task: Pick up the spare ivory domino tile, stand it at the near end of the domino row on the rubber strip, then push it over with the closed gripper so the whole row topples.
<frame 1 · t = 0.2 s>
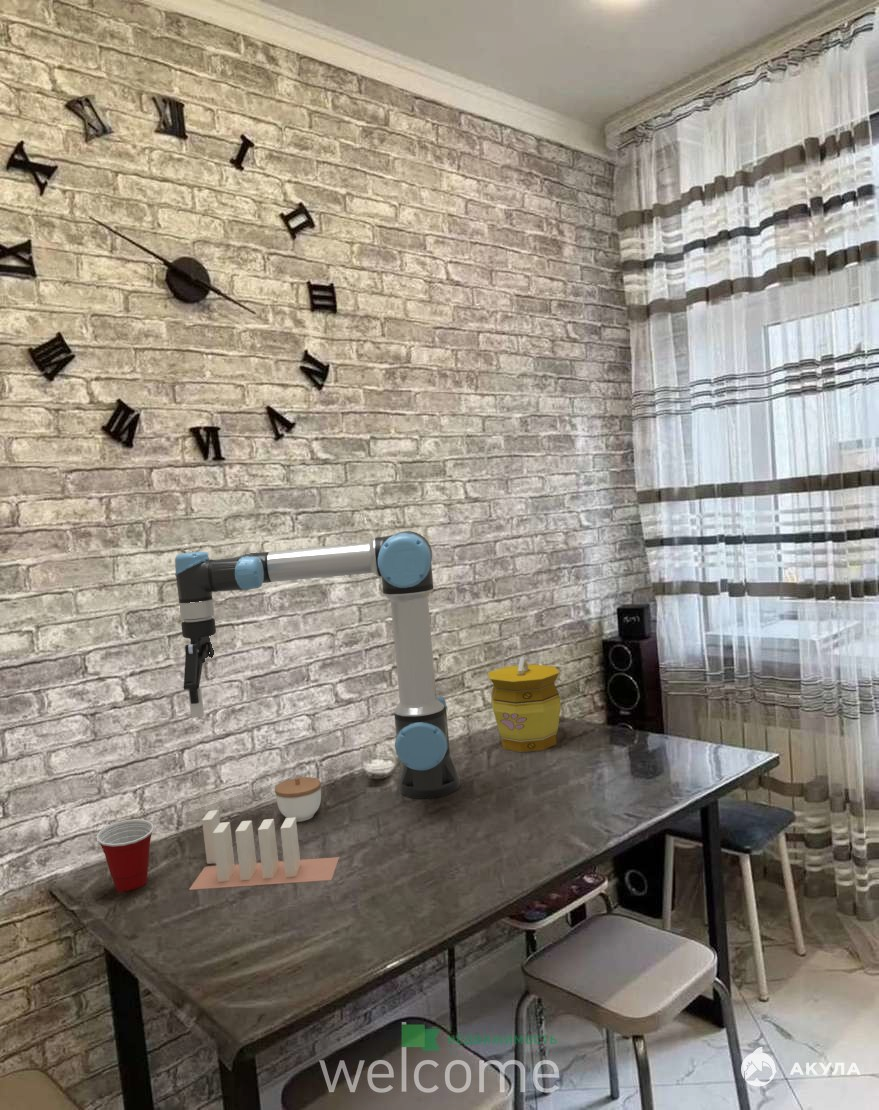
hand: (207, 709, 194), 28 cm above the table, fingers open, 13 cm apart
domino 4: (226, 875, 167), point 1 cm above the table, touching strip
domino 1: (293, 871, 166), point 1 cm above the table, touching strip
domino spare: (215, 860, 176), on the table
plastic cup: (132, 888, 166), on the table
lidded jar: (301, 817, 196), on the table
container: (528, 743, 237), on the table
strip: (266, 875, 166), on the table
domino 3: (248, 874, 166), point 1 cm above the table, touching strip
domino 2: (271, 872, 166), point 1 cm above the table, touching strip
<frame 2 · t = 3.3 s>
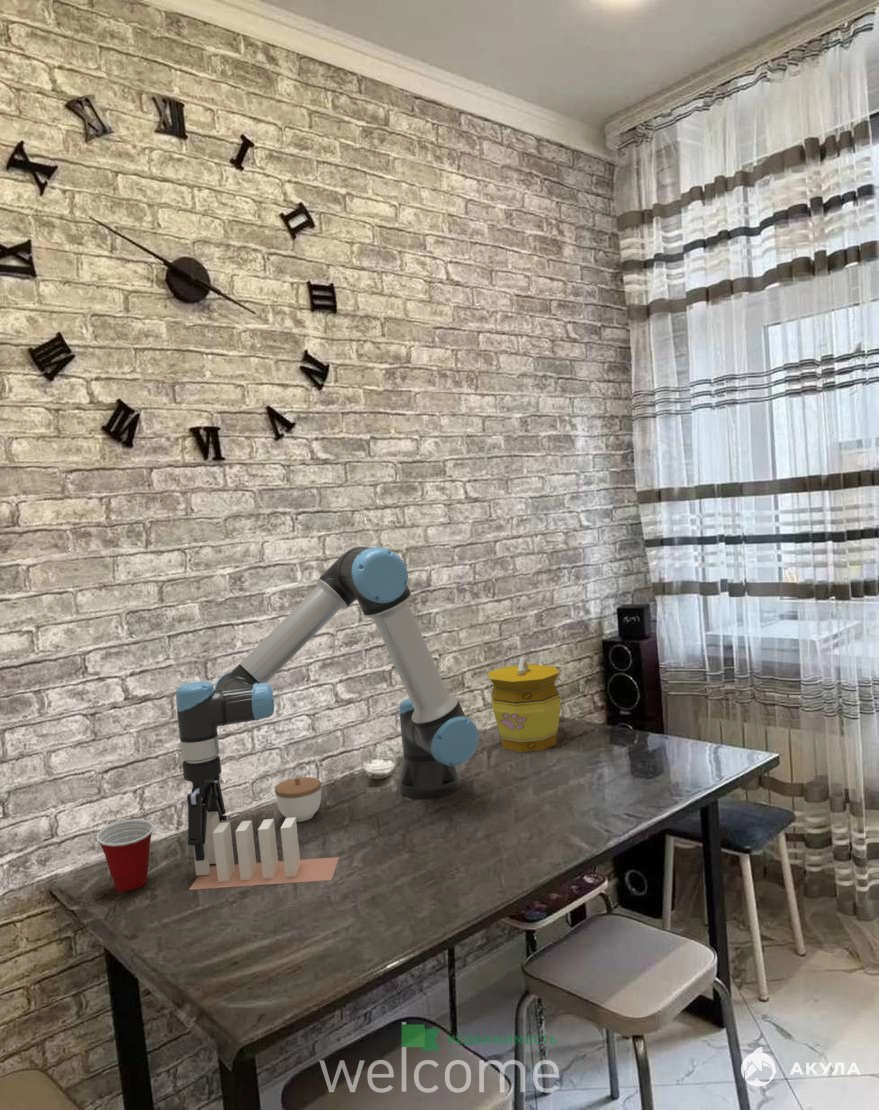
hand: (211, 863, 173), 1 cm above the table, fingers open, 10 cm apart
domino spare: (215, 861, 175), on the table, touching gripper
everything else where it was.
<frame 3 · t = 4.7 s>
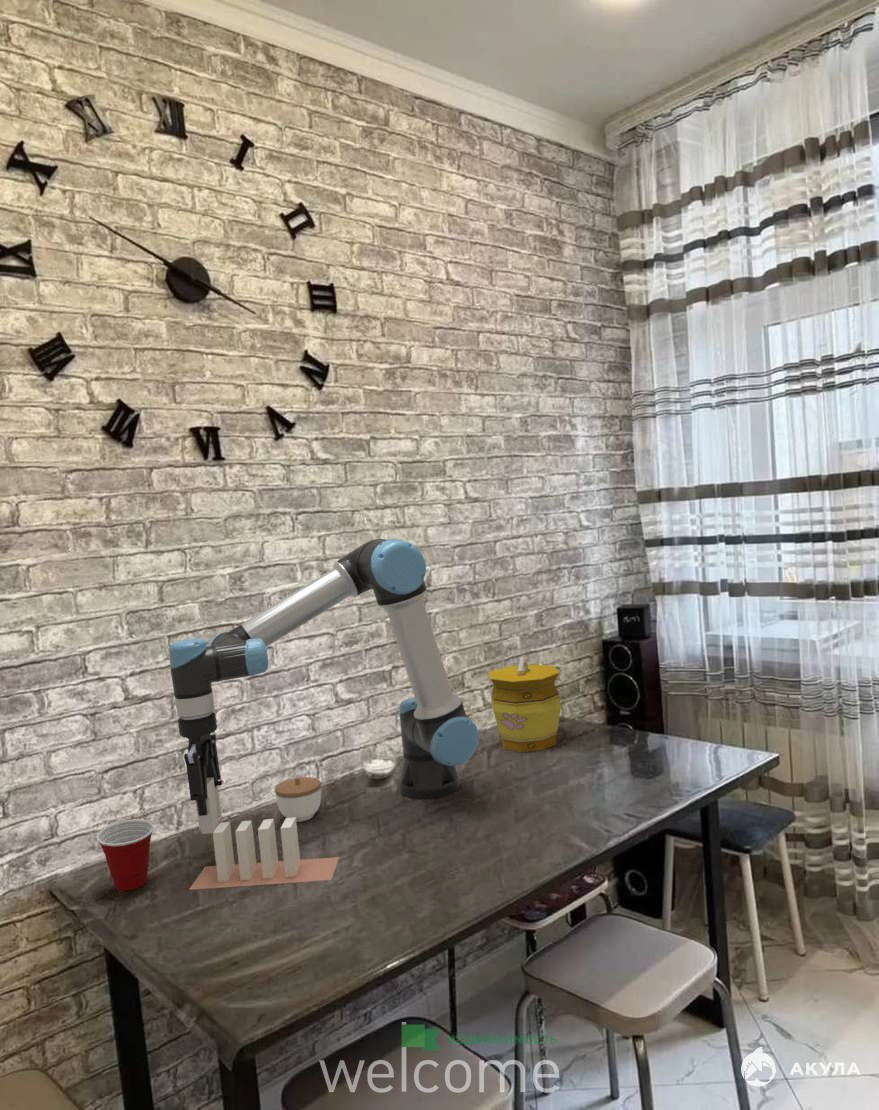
hand: (210, 822, 173), 9 cm above the table, fingers closed on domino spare, 5 cm apart
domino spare: (210, 828, 173), point 8 cm above the table, touching gripper
everything else where it was.
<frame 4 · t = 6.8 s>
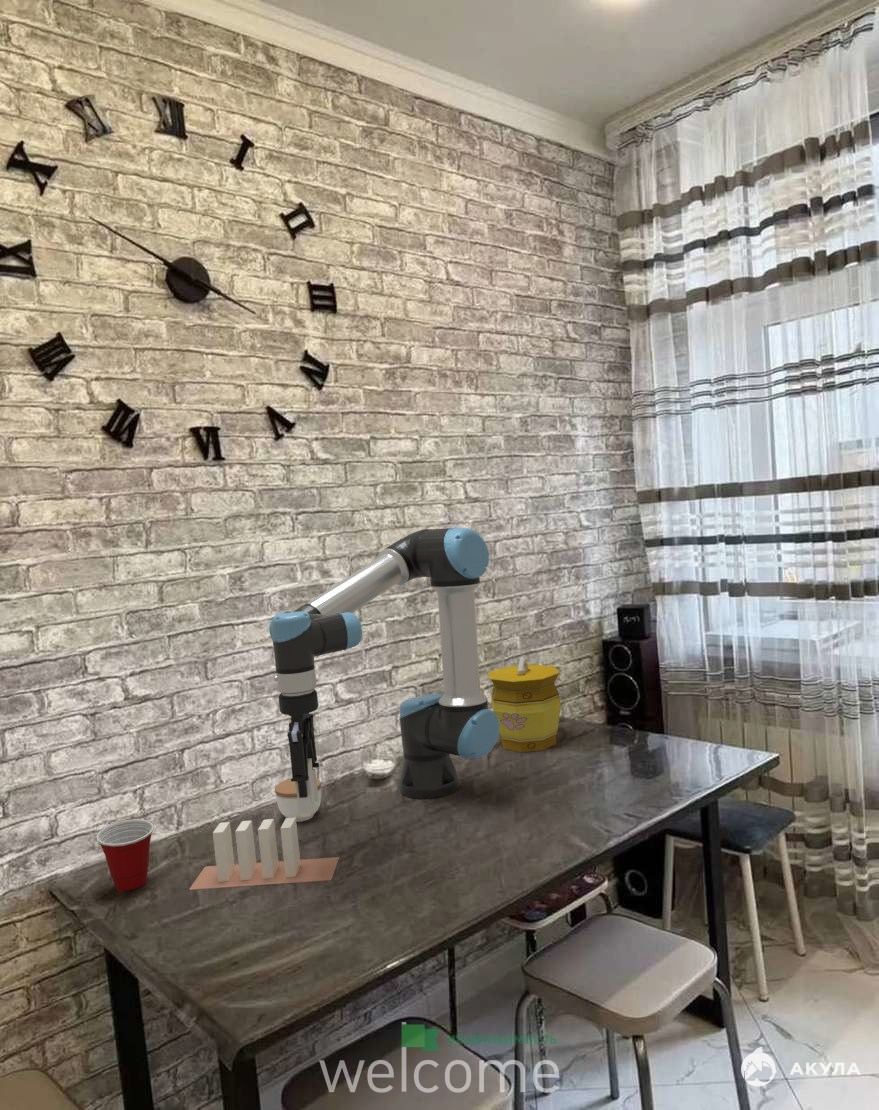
hand: (308, 806, 165), 14 cm above the table, fingers closed on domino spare, 5 cm apart
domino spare: (308, 811, 165), point 13 cm above the table, touching gripper
everything else where it was.
when the fingers open (1 cm above the table, at t = 9.2 s): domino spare stays where it is, resting on strip.
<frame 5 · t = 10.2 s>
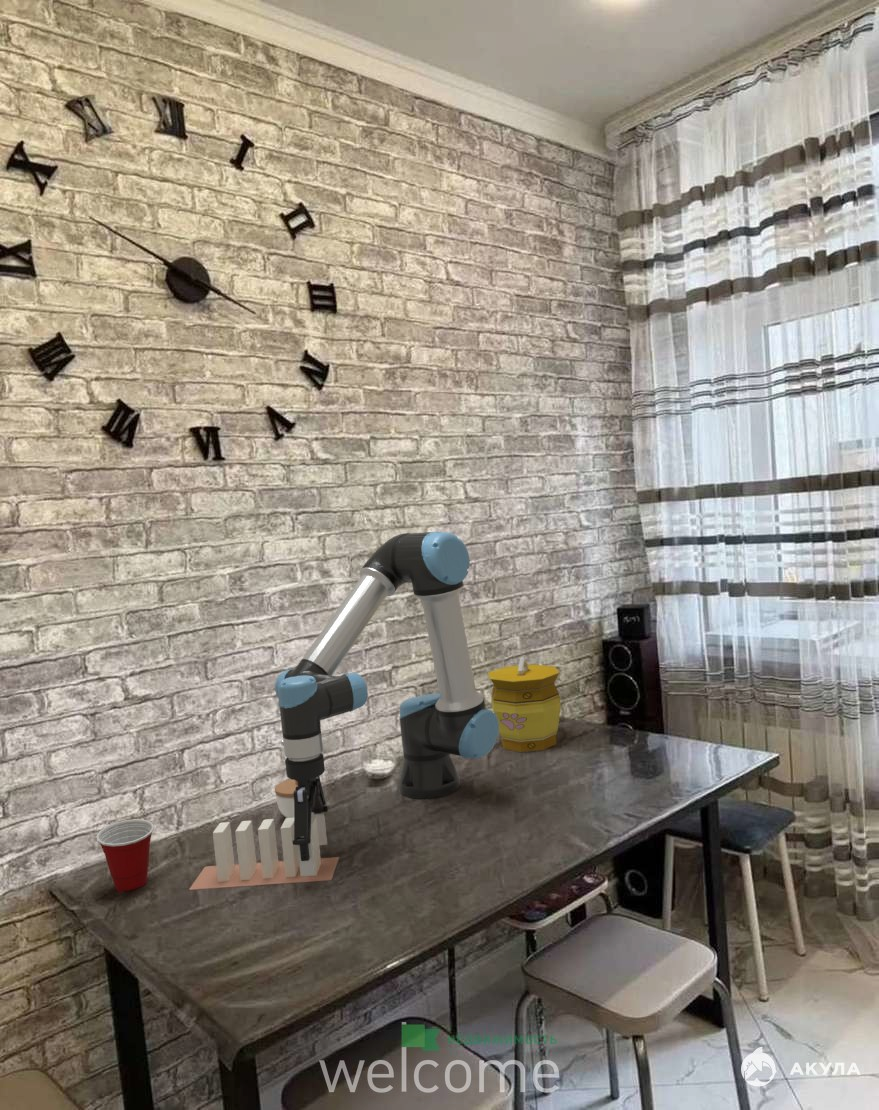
hand: (314, 859, 166), 3 cm above the table, fingers open, 13 cm apart
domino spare: (313, 869, 166), point 1 cm above the table, touching strip
everything else where it was.
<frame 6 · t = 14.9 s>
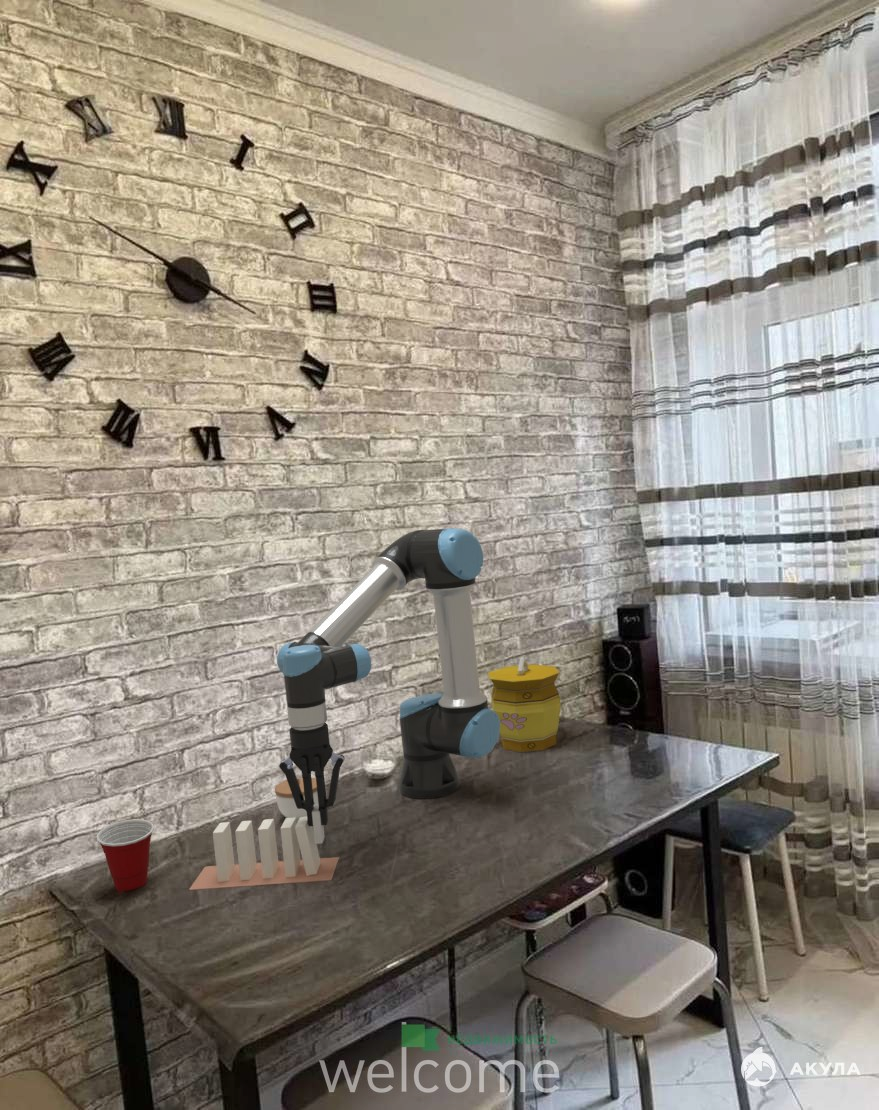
hand: (319, 840, 165), 6 cm above the table, fingers closed
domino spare: (313, 869, 166), point 1 cm above the table, tilted 8°, touching gripper, strip
everything else where it was.
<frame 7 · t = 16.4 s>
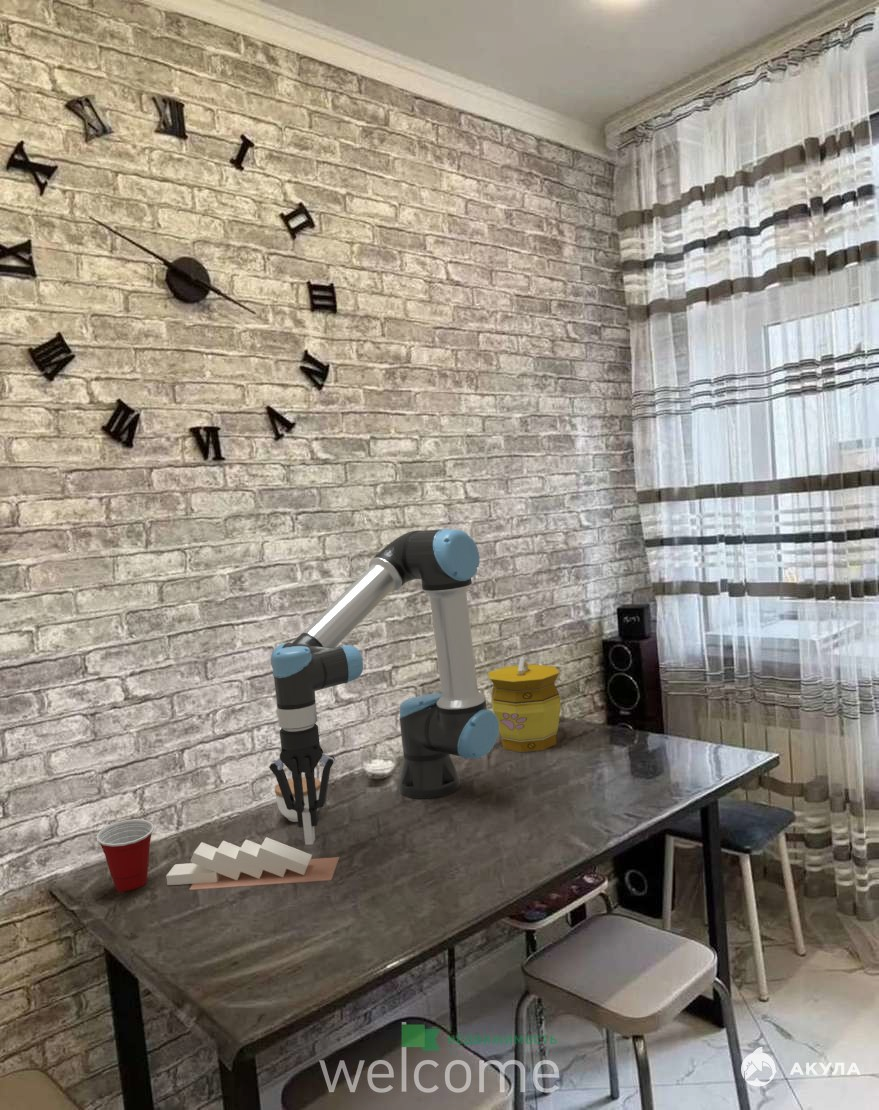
hand: (310, 841, 165), 6 cm above the table, fingers closed
domino 4: (220, 871, 167), point 2 cm above the table, tilted 90°, touching domino 3, strip
domino 1: (287, 867, 166), point 1 cm above the table, tilted 64°, touching domino 2, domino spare, strip
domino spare: (308, 864, 166), point 2 cm above the table, tilted 64°, touching domino 1
domino 3: (242, 870, 166), point 1 cm above the table, tilted 63°, touching domino 2, domino 4, strip
domino 2: (264, 868, 166), point 2 cm above the table, tilted 63°, touching domino 1, domino 3
everything else where it was.
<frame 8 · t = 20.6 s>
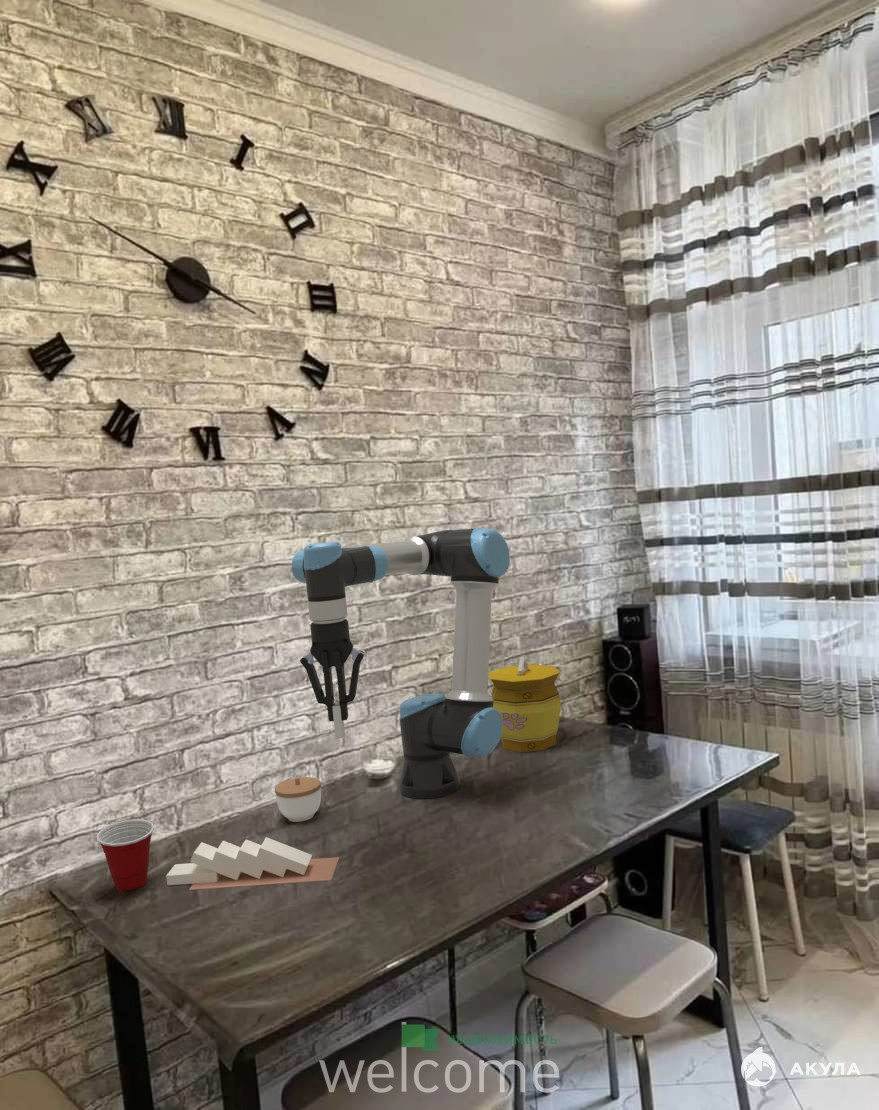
hand: (340, 736, 167), 26 cm above the table, fingers closed
nothing on the table moved.
at the end: domino 4 tilted 90°; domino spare tilted 64° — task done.
